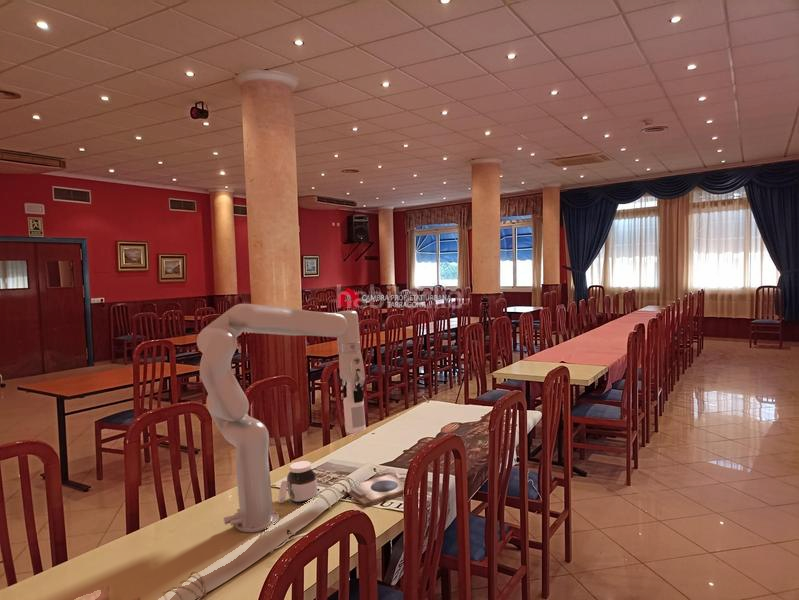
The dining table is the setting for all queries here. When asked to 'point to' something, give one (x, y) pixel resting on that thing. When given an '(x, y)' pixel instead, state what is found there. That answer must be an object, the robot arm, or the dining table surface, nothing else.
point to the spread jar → (299, 483)
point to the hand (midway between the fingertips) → (353, 399)
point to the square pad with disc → (377, 490)
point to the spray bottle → (353, 412)
